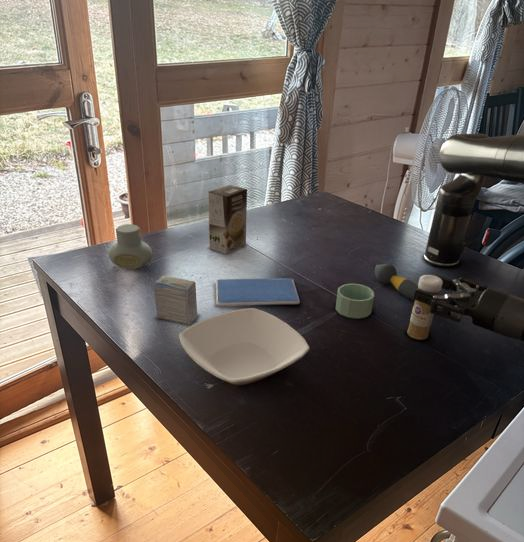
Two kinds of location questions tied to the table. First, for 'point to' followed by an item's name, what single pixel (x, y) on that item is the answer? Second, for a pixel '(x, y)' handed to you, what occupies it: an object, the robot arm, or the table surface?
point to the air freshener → (130, 248)
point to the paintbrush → (395, 280)
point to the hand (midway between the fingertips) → (424, 286)
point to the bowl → (243, 345)
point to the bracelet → (354, 300)
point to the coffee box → (227, 218)
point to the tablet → (256, 292)
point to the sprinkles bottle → (423, 308)
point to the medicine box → (175, 299)
